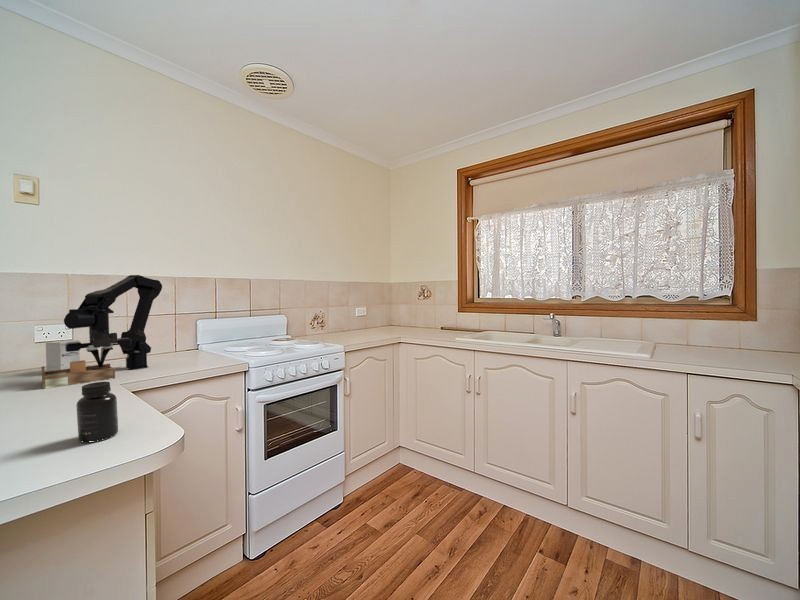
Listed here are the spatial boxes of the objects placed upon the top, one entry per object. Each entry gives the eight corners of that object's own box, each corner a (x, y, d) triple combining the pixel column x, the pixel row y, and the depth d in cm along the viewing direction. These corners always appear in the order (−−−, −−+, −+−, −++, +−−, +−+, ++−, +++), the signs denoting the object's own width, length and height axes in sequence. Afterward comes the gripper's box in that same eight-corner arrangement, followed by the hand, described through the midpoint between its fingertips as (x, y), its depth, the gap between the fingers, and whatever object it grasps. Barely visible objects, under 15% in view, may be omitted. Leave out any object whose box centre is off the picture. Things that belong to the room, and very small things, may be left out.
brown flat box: (110, 373, 139) (109, 358, 139) (115, 378, 132) (114, 362, 132) (42, 383, 125) (41, 366, 125) (43, 388, 118) (42, 371, 118)
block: (84, 370, 131) (84, 360, 131) (86, 372, 128) (85, 361, 128) (70, 372, 128) (69, 361, 128) (71, 374, 125) (70, 363, 125)
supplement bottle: (94, 431, 82) (92, 380, 81) (125, 430, 82) (123, 379, 82) (69, 444, 75) (66, 388, 74) (103, 443, 75) (101, 387, 75)
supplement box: (60, 374, 138) (59, 342, 138) (46, 373, 140) (44, 342, 140) (80, 370, 146) (79, 340, 145) (66, 369, 147) (65, 339, 147)
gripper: (66, 329, 120) (68, 374, 120) (134, 325, 134) (135, 365, 134) (64, 327, 128) (65, 369, 128) (128, 323, 141) (129, 362, 142)
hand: (100, 366), depth 133 cm, fingers closed
